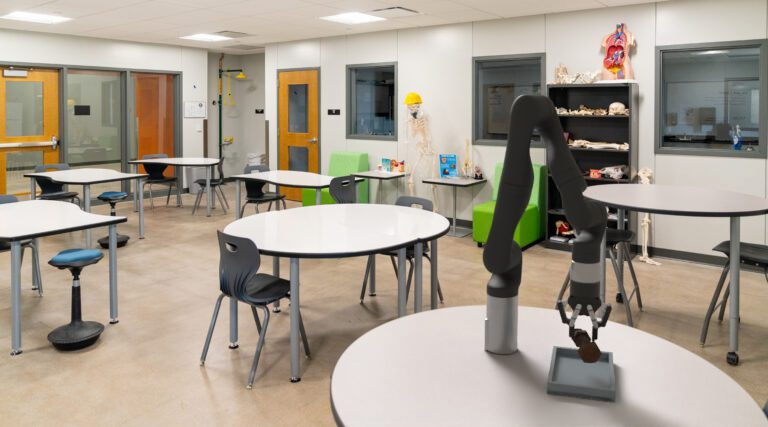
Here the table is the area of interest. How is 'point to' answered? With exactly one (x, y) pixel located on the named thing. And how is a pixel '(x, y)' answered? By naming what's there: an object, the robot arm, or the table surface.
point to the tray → (581, 375)
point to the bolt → (586, 346)
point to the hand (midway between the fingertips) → (583, 339)
